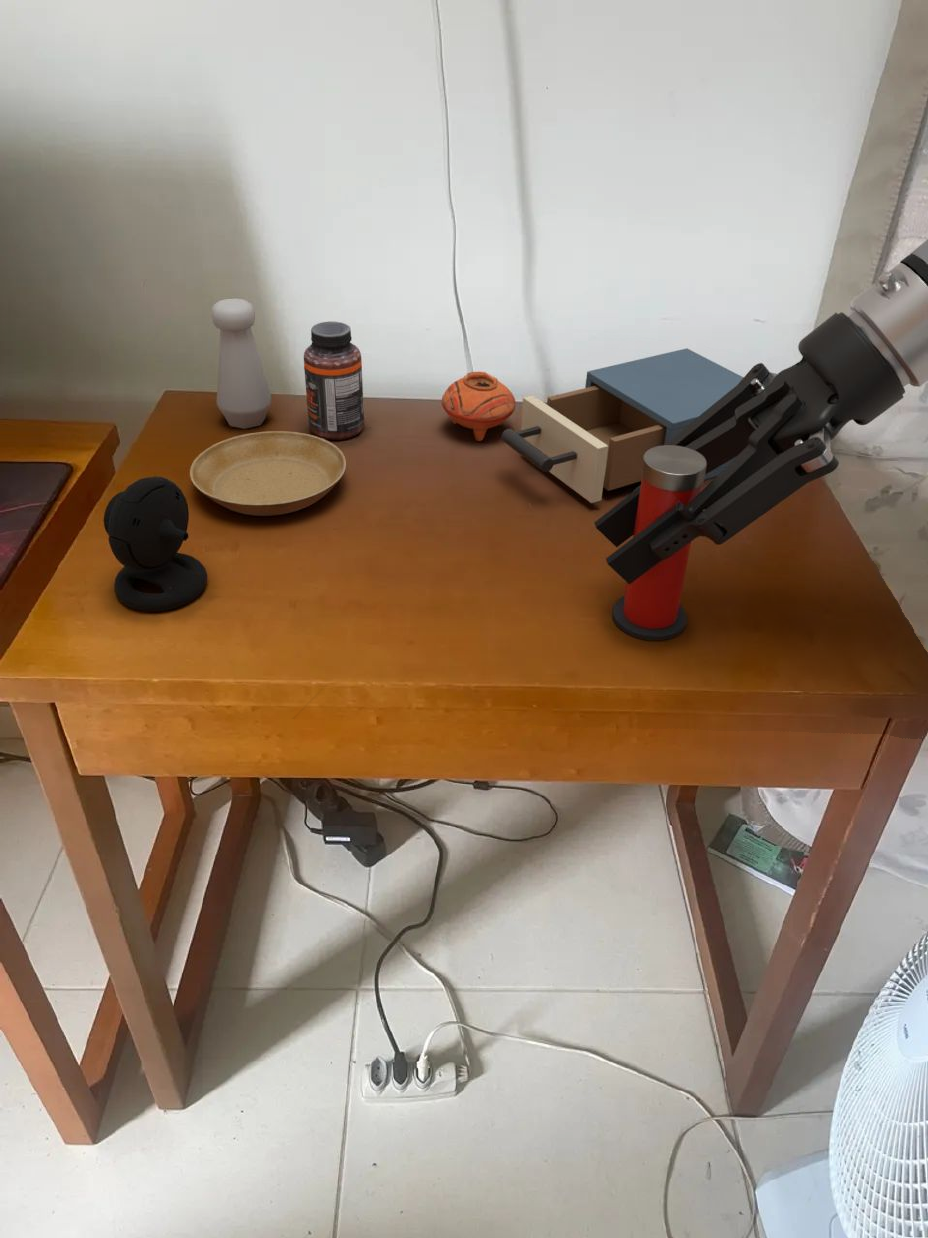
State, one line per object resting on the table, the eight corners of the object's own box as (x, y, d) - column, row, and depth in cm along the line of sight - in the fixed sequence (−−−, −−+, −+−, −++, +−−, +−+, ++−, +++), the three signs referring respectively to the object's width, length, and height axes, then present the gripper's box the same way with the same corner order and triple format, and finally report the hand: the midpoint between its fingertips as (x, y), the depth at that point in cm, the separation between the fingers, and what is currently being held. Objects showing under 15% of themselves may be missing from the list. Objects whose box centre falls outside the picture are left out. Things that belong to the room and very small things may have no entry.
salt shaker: (279, 411, 109) (268, 294, 102) (264, 434, 105) (251, 314, 97) (228, 406, 110) (214, 290, 102) (211, 429, 105) (194, 310, 97)
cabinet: (661, 493, 97) (673, 423, 92) (579, 437, 106) (586, 371, 101) (762, 462, 103) (777, 394, 98) (676, 412, 112) (687, 347, 107)
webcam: (159, 552, 86) (139, 450, 80) (227, 576, 84) (211, 472, 78) (94, 598, 81) (67, 491, 75) (165, 625, 78) (143, 517, 72)
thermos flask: (683, 603, 81) (712, 451, 73) (672, 635, 78) (701, 479, 69) (628, 591, 83) (651, 440, 74) (615, 621, 79) (637, 467, 71)
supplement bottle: (301, 422, 107) (293, 321, 100) (353, 413, 109) (348, 313, 102) (319, 446, 103) (311, 341, 96) (372, 436, 105) (368, 333, 98)
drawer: (555, 514, 91) (560, 458, 88) (485, 458, 100) (487, 405, 96) (691, 473, 98) (701, 419, 95) (615, 424, 107) (621, 373, 103)
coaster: (692, 606, 82) (693, 601, 82) (678, 648, 77) (678, 643, 77) (621, 590, 84) (622, 585, 83) (604, 630, 79) (604, 625, 79)
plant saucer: (171, 522, 90) (166, 497, 89) (221, 448, 102) (217, 425, 100) (328, 535, 89) (326, 510, 88) (360, 459, 101) (359, 435, 99)
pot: (483, 403, 111) (495, 352, 106) (520, 445, 107) (535, 394, 103) (423, 416, 108) (432, 364, 103) (458, 460, 104) (470, 408, 99)
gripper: (805, 268, 73) (564, 468, 82) (904, 363, 59) (601, 591, 68) (855, 338, 76) (619, 522, 85) (960, 443, 62) (665, 649, 71)
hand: (611, 552), depth 76 cm, fingers closed on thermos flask, 4 cm apart
